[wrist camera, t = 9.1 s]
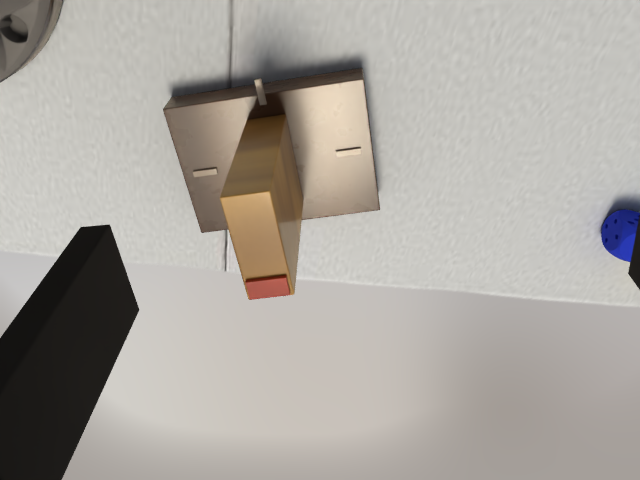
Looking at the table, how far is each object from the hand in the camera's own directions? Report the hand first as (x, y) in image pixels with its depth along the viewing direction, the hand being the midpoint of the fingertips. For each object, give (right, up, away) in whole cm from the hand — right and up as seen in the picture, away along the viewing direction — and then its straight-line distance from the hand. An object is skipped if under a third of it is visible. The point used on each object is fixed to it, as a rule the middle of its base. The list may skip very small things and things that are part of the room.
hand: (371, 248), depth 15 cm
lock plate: (-4, +6, +21) cm, 22 cm away
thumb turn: (-4, +5, +19) cm, 20 cm away
